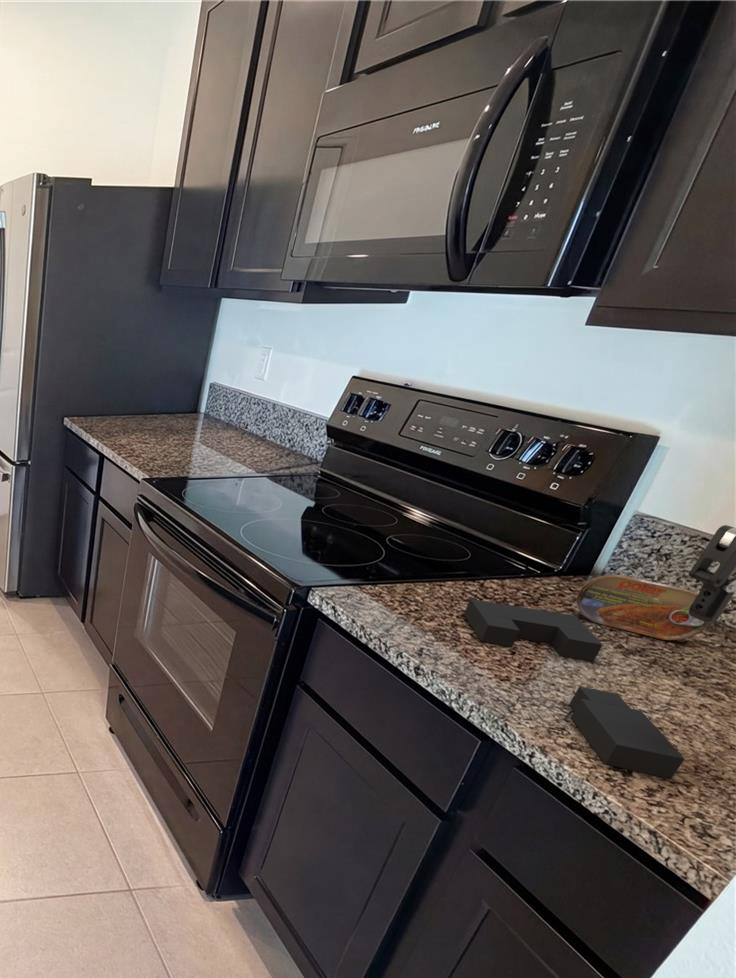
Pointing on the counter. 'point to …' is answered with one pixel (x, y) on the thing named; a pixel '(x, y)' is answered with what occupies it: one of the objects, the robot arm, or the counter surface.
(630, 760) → the pad
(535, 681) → the counter surface
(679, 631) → the tin
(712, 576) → the robot arm
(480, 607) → the notch pad
